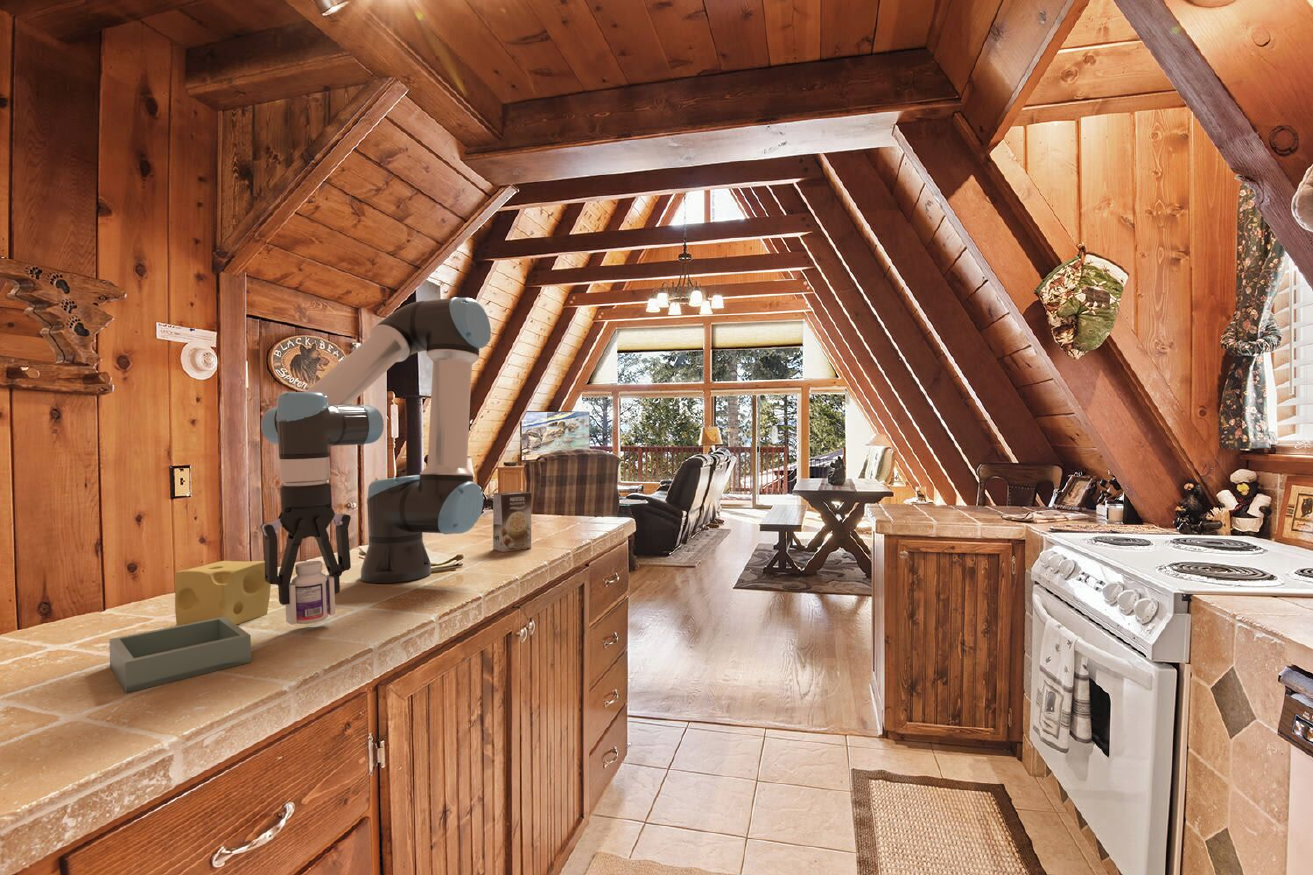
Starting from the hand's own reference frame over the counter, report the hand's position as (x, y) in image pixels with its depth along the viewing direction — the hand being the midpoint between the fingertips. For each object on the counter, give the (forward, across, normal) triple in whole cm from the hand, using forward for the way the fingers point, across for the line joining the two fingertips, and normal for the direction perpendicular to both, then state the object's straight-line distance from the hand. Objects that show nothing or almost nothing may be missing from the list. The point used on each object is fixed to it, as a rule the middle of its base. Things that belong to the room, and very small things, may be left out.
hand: (311, 617), depth 106 cm
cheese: (+2, +9, -18) cm, 20 cm away
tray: (+1, +19, +3) cm, 19 cm away
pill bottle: (+1, 0, 0) cm, 1 cm away
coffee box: (+4, -64, -34) cm, 73 cm away
